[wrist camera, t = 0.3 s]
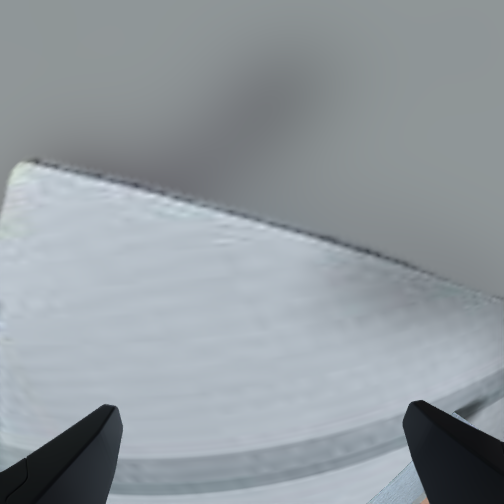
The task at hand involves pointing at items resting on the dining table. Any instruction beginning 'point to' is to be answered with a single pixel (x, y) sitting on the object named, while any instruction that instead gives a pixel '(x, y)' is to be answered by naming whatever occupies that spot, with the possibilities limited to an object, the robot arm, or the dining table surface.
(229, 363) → the dining table surface
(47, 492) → the robot arm
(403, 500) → the corner walls
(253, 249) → the dining table surface
